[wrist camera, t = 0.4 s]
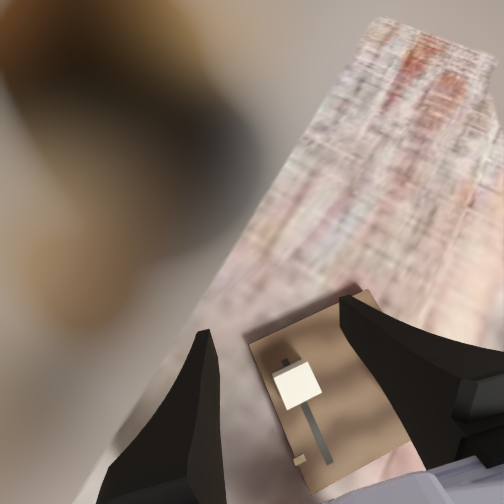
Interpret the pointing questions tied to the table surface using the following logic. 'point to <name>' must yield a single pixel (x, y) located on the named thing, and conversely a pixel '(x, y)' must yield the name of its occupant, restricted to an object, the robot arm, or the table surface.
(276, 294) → the table surface
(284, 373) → the white fader
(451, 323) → the table surface
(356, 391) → the console
